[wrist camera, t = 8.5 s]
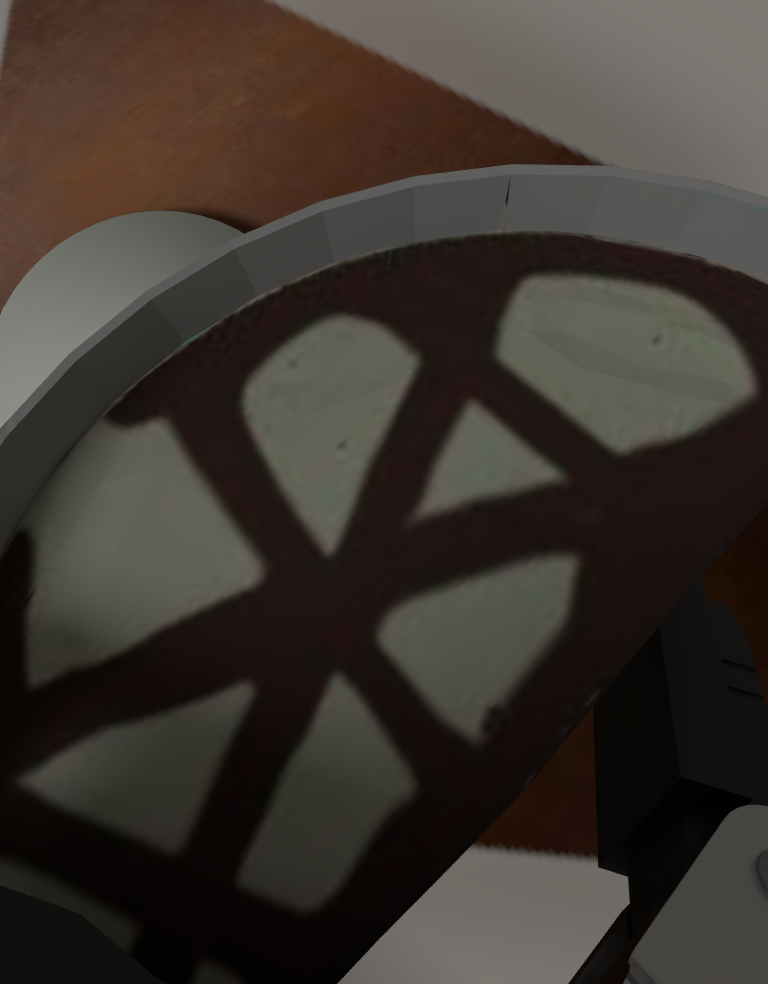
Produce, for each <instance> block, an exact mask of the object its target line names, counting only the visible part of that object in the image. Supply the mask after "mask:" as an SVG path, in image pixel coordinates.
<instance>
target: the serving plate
mask: <svg viewBox="0 0 768 984" xmlns="http://www.w3.org/2000/svg"><path fill="white" fill-rule="evenodd" d="M241 235H243V233H242V232H240V231H239V230H237V229H235V228H233V227H231V226H228V225H226V224H224V223H222V222H220V221H217V220H214V219H210V218H207V217H204V216H200V215H196V214H190V213H184V212H176V211H150V212H138V213H133V214H128V215H123V216H118V217H115V218H112V219H109V220H106V221H103V222H100V223H97V224H95V225H93V226H90V227H88V228H86V229H84V230H82V231H80V232H78V233H76V234H74V235H73V236H71V237H70V238H68V239H67V240H65V241H63V242H62V243H60V244H59V245H57V246H56V247H55V248H54V249H53V250H51V251H50V252H49V253H48V254H46V255H45V256H44V257H43V258H42V259H41V260H40V261H39V262H38V263H37V264H36V265H35V266H34V267H33V268H32V269H31V270H30V271H29V272H28V273H27V274H26V275H25V277H24V278H23V279H22V281H21V282H20V283H19V285H18V286H17V287H16V289H15V290H14V291H13V293H12V295H11V296H10V298H9V300H8V301H7V303H6V305H5V306H4V308H3V310H2V312H1V315H0V428H1V427H2V426H3V425H4V424H5V423H6V421H7V420H8V419H9V418H10V417H11V416H12V415H13V414H14V413H15V412H16V411H17V410H18V409H19V407H20V406H21V405H22V404H23V403H24V402H25V401H26V400H27V399H28V398H29V397H30V396H31V394H32V393H33V392H34V391H35V390H36V389H37V388H38V387H39V386H40V385H41V384H42V383H43V381H44V380H45V379H46V378H47V377H48V376H49V375H50V374H51V373H52V372H53V371H54V370H55V368H56V367H57V366H58V365H59V364H60V363H61V362H62V361H63V360H64V359H65V358H66V357H67V355H68V354H70V353H71V352H72V351H73V350H75V349H76V348H77V347H78V346H79V345H81V344H82V343H83V342H84V341H86V340H87V339H88V338H89V337H90V336H92V335H93V334H94V333H95V332H97V331H98V330H99V329H100V328H101V327H103V326H104V325H105V324H106V323H108V322H109V321H110V320H111V319H112V318H114V317H115V316H116V315H117V314H119V313H120V312H121V311H122V310H123V309H125V308H126V307H127V306H128V305H130V304H131V303H132V302H133V301H134V300H136V299H137V298H138V297H139V296H141V295H142V294H143V293H144V292H145V291H147V290H148V289H150V288H152V287H153V286H155V285H157V284H158V283H160V282H162V281H163V280H165V279H167V278H168V277H170V276H172V275H173V274H175V273H177V272H178V271H180V270H182V269H183V268H185V267H186V266H188V265H190V264H191V263H193V262H195V261H196V260H198V259H200V258H201V257H203V256H205V255H206V254H208V253H210V252H211V251H213V250H215V249H216V248H218V247H220V246H221V245H223V244H224V243H226V242H228V241H229V240H232V239H234V238H236V237H239V236H241Z"/></svg>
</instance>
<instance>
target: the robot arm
mask: <svg viewBox="0 0 768 984" xmlns="http://www.w3.org/2000/svg"><path fill="white" fill-rule="evenodd" d="M756 669H757V668H756V665H755V661H754V658H753V654H752V651H751V648H750V644H749V641H748V637H747V635H746V633H745V632H744V631H743V629H742V628H741V627H740V625H739V624H738V622H737V621H736V620H735V618H734V617H733V615H732V614H731V613H730V611H729V610H728V608H727V607H726V606H725V604H724V603H720V602H716V601H713V600H709V599H706V594H705V590H704V586H703V582H702V578H700V579H699V581H698V582H697V583H696V584H695V585H694V586H693V588H692V589H691V590H690V591H689V592H688V594H687V595H686V596H685V597H684V598H683V599H682V601H681V602H680V603H679V604H678V605H677V606H676V608H675V609H674V610H673V611H672V612H671V613H670V615H669V616H668V617H667V618H666V619H665V621H664V622H663V623H662V624H661V625H660V626H659V628H658V629H657V630H656V631H655V632H654V633H653V635H652V636H651V637H650V638H649V639H648V641H647V642H646V643H645V644H644V645H643V646H642V648H641V649H640V650H639V651H638V652H637V653H636V655H635V656H634V657H633V658H632V659H631V660H630V662H629V663H628V664H627V665H626V666H625V668H624V669H623V670H622V671H621V672H620V673H619V675H618V676H617V677H616V678H615V679H614V681H613V682H612V683H611V684H610V686H609V687H608V688H607V689H606V691H605V692H604V693H603V694H602V695H601V697H600V698H599V699H598V700H597V702H596V703H595V704H594V705H593V713H594V745H595V776H596V808H597V839H598V867H599V868H602V869H606V870H609V871H612V872H615V873H618V874H621V875H624V876H627V877H628V882H629V897H630V904H629V905H628V906H627V907H626V908H625V909H624V910H623V911H622V912H621V913H620V915H619V916H618V917H617V919H616V920H615V921H614V923H613V924H612V925H611V927H610V928H609V930H608V931H607V932H606V934H605V935H604V936H603V938H602V939H601V940H600V942H599V943H598V944H597V946H596V947H595V948H594V950H593V951H592V953H591V954H590V955H589V957H588V958H587V959H586V961H585V962H584V963H583V965H582V966H581V967H580V969H579V970H578V971H577V973H576V974H575V976H574V977H573V978H572V979H571V981H570V982H569V984H768V706H767V703H764V702H763V699H764V697H765V696H764V692H763V689H762V685H761V682H760V679H759V675H756V674H755V671H756ZM0 984H167V983H164V982H162V981H161V980H159V979H157V978H156V977H155V976H154V975H153V974H151V973H150V972H149V971H148V970H147V969H145V968H144V967H143V966H142V965H141V964H139V963H138V962H137V961H136V960H135V959H133V958H132V957H131V956H130V955H129V954H128V953H126V952H125V951H124V950H123V949H122V948H120V947H119V946H118V945H117V944H116V943H114V942H113V941H112V940H111V939H110V938H108V937H107V936H106V935H105V934H104V933H102V932H101V931H100V930H99V929H98V928H97V927H95V926H94V925H93V924H92V923H91V922H89V921H88V920H87V919H86V918H85V917H83V916H82V915H81V914H79V913H77V912H74V911H71V910H68V909H65V908H63V907H60V906H57V905H54V904H51V903H49V902H46V901H43V900H40V899H37V898H35V897H32V896H29V895H26V894H23V893H21V892H18V891H15V890H12V889H9V888H7V887H4V886H1V885H0Z"/></svg>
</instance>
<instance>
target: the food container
mask: <svg viewBox="0 0 768 984" xmlns="http://www.w3.org/2000/svg"><path fill="white" fill-rule="evenodd" d="M767 503H768V198H767V197H763V196H760V195H757V194H753V193H749V192H746V191H743V190H739V189H736V188H733V187H729V186H726V185H723V184H719V183H716V182H712V181H705V180H699V179H692V178H686V177H679V176H673V175H666V174H660V173H653V172H647V171H641V170H634V169H628V168H621V167H615V166H578V165H516V164H511V165H503V166H495V167H487V168H479V169H471V170H463V171H455V172H447V173H438V174H430V175H422V176H414V177H410V178H406V179H403V180H399V181H395V182H392V183H388V184H384V185H380V186H377V187H373V188H369V189H366V190H362V191H358V192H354V193H351V194H347V195H343V196H340V197H336V198H332V199H328V200H325V201H321V202H318V203H316V204H314V205H311V206H309V207H306V208H304V209H302V210H299V211H297V212H295V213H292V214H290V215H288V216H285V217H283V218H281V219H278V220H276V221H274V222H271V223H269V224H267V225H264V226H262V227H260V228H257V229H255V230H253V231H250V232H248V233H246V234H243V235H241V236H239V237H236V238H234V239H232V240H229V241H228V242H226V243H224V244H223V245H221V246H220V247H218V248H216V249H215V250H213V251H211V252H210V253H208V254H206V255H205V256H203V257H201V258H200V259H198V260H196V261H195V262H193V263H191V264H190V265H188V266H186V267H185V268H183V269H182V270H180V271H178V272H177V273H175V274H173V275H172V276H170V277H168V278H167V279H165V280H163V281H162V282H160V283H158V284H157V285H155V286H153V287H152V288H150V289H148V290H147V291H145V292H144V293H143V294H142V295H141V296H139V297H138V298H137V299H136V300H134V301H133V302H132V303H131V304H130V305H128V306H127V307H126V308H125V309H123V310H122V311H121V312H120V313H119V314H117V315H116V316H115V317H114V318H112V319H111V320H110V321H109V322H108V323H106V324H105V325H104V326H103V327H101V328H100V329H99V330H98V331H97V332H95V333H94V334H93V335H92V336H90V337H89V338H88V339H87V340H86V341H84V342H83V343H82V344H81V345H79V346H78V347H77V348H76V349H75V350H73V351H72V352H71V353H70V354H68V355H67V357H66V358H65V359H64V360H63V361H62V362H61V363H60V364H59V365H58V366H57V367H56V368H55V370H54V371H53V372H52V373H51V374H50V375H49V376H48V377H47V378H46V379H45V380H44V381H43V383H42V384H41V385H40V386H39V387H38V388H37V389H36V390H35V391H34V392H33V393H32V394H31V396H30V397H29V398H28V399H27V400H26V401H25V402H24V403H23V404H22V405H21V406H20V407H19V409H18V410H17V411H16V412H15V413H14V414H13V415H12V416H11V417H10V418H9V419H8V420H7V421H6V423H5V424H4V425H3V426H2V427H1V428H0V885H1V886H4V887H7V888H9V889H12V890H15V891H18V892H21V893H23V894H26V895H29V896H32V897H35V898H37V899H40V900H43V901H46V902H49V903H51V904H54V905H57V906H60V907H63V908H65V909H68V910H71V911H74V912H77V913H79V914H81V915H82V916H83V917H85V918H86V919H87V920H88V921H89V922H91V923H92V924H93V925H94V926H95V927H97V928H98V929H99V930H100V931H101V932H102V933H104V934H105V935H106V936H107V937H108V938H110V939H111V940H112V941H113V942H114V943H116V944H117V945H118V946H119V947H120V948H122V949H123V950H124V951H125V952H126V953H128V954H129V955H130V956H131V957H132V958H133V959H135V960H136V961H137V962H138V963H139V964H141V965H142V966H143V967H144V968H145V969H147V970H148V971H149V972H150V973H151V974H153V975H154V976H155V977H156V978H157V979H159V980H161V981H162V982H164V983H167V984H337V983H338V982H339V981H340V980H341V979H342V978H343V977H344V976H345V975H346V974H347V973H348V972H349V970H350V969H351V968H352V967H353V966H354V965H355V964H356V963H357V962H358V961H359V960H360V959H361V958H362V957H363V955H365V953H366V952H367V951H368V950H369V949H370V948H371V947H372V946H373V945H374V944H375V943H376V942H377V941H378V940H379V938H381V937H382V936H383V935H384V933H386V932H387V931H388V930H389V928H391V926H393V925H394V923H395V922H396V921H397V920H398V919H399V918H400V917H401V916H402V915H403V914H404V913H405V912H406V911H407V910H408V909H409V908H410V907H411V906H412V905H413V904H414V903H415V902H416V901H417V900H418V899H419V898H420V897H421V896H422V895H423V894H424V893H425V892H426V891H427V890H428V889H429V888H430V887H431V886H432V885H433V884H434V883H435V882H436V881H437V880H438V879H439V878H440V877H441V876H442V875H443V874H444V873H445V872H446V871H447V870H448V869H449V868H450V867H451V866H452V865H453V864H454V863H455V862H456V861H457V860H458V859H459V858H460V856H461V855H462V854H463V853H464V852H465V851H466V850H467V849H468V848H469V847H470V846H471V845H472V844H473V843H474V842H475V841H476V840H477V839H478V838H479V837H480V836H481V835H482V834H483V833H484V832H485V831H486V830H487V829H488V828H489V827H490V826H491V825H492V824H493V823H494V822H495V821H496V820H497V819H498V818H499V816H500V815H501V814H502V813H503V812H504V811H505V810H506V809H507V808H508V807H509V806H510V805H511V804H512V803H513V802H514V801H515V800H516V799H517V798H518V797H519V796H520V795H521V793H522V792H523V791H524V790H525V789H526V787H527V786H528V785H529V784H530V782H531V781H532V780H533V779H534V778H535V776H536V775H537V774H538V773H539V771H540V770H541V769H542V768H543V767H544V765H545V764H546V763H547V762H548V761H549V759H550V758H551V757H552V756H553V754H554V753H555V752H556V751H557V750H558V748H559V747H560V746H561V745H562V743H563V742H564V741H565V740H566V739H567V737H568V736H569V735H570V734H571V732H572V731H573V730H574V729H575V728H576V726H577V725H578V724H579V723H580V721H581V720H582V719H583V718H584V717H585V715H586V714H587V713H588V712H589V710H590V709H591V708H592V707H593V705H594V704H595V703H596V702H597V700H598V699H599V698H600V697H601V695H602V694H603V693H604V692H605V691H606V689H607V688H608V687H609V686H610V684H611V683H612V682H613V681H614V679H615V678H616V677H617V676H618V675H619V673H620V672H621V671H622V670H623V669H624V668H625V666H626V665H627V664H628V663H629V662H630V660H631V659H632V658H633V657H634V656H635V655H636V653H637V652H638V651H639V650H640V649H641V648H642V646H643V645H644V644H645V643H646V642H647V641H648V639H649V638H650V637H651V636H652V635H653V633H654V632H655V631H656V630H657V629H658V628H659V626H660V625H661V624H662V623H663V622H664V621H665V619H666V618H667V617H668V616H669V615H670V613H671V612H672V611H673V610H674V609H675V608H676V606H677V605H678V604H679V603H680V602H681V601H682V599H683V598H684V597H685V596H686V595H687V594H688V592H689V591H690V590H691V589H692V588H693V586H694V585H695V584H696V583H697V582H698V581H699V579H700V578H701V577H702V576H703V575H704V574H705V573H706V571H707V570H708V569H709V568H710V567H711V566H712V565H713V564H714V562H715V561H716V560H717V559H718V558H719V557H720V556H721V555H722V554H723V552H724V551H725V550H726V549H727V548H728V547H729V546H730V545H731V543H732V542H733V541H734V540H735V539H736V538H737V537H738V536H739V535H740V533H741V532H742V531H743V530H744V529H745V528H746V527H747V526H748V524H749V523H750V522H751V521H752V520H753V519H754V518H755V517H756V516H757V514H758V513H759V512H760V511H761V510H762V509H763V508H764V507H765V505H766V504H767Z"/></svg>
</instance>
